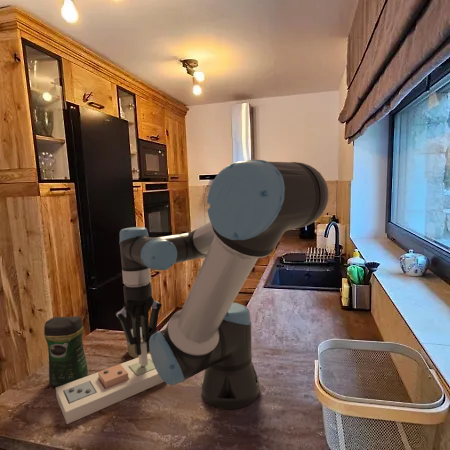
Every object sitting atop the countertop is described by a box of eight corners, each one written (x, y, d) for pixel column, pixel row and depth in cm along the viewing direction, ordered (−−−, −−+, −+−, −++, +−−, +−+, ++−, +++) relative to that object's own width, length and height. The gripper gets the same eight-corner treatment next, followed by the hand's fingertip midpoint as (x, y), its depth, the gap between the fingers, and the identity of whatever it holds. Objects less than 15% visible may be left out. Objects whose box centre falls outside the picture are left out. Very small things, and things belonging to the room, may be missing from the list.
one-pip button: (158, 376, 91) (157, 366, 91) (138, 385, 88) (137, 374, 87) (149, 368, 96) (148, 357, 95) (129, 375, 92) (129, 365, 92)
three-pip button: (96, 402, 81) (95, 390, 80) (70, 413, 77) (69, 401, 77) (89, 391, 86) (88, 380, 85) (65, 401, 82) (64, 389, 82)
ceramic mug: (127, 362, 100) (126, 338, 99) (127, 349, 108) (125, 328, 107) (162, 356, 103) (161, 333, 102) (158, 344, 111) (158, 323, 110)
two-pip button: (128, 383, 86) (127, 372, 85) (106, 393, 82) (105, 381, 82) (120, 373, 91) (120, 363, 90) (99, 382, 87) (98, 371, 87)
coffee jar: (92, 371, 95) (86, 311, 93) (78, 388, 87) (72, 323, 85) (60, 371, 96) (54, 312, 94) (44, 388, 88) (37, 323, 86)
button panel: (167, 380, 90) (167, 369, 89) (66, 424, 74) (65, 412, 74) (149, 362, 99) (149, 353, 99) (56, 398, 83) (55, 387, 83)
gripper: (153, 276, 95) (158, 351, 98) (109, 285, 87) (116, 366, 90) (164, 281, 89) (170, 360, 92) (118, 291, 82) (125, 378, 84)
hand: (143, 363), depth 91 cm, fingers closed
